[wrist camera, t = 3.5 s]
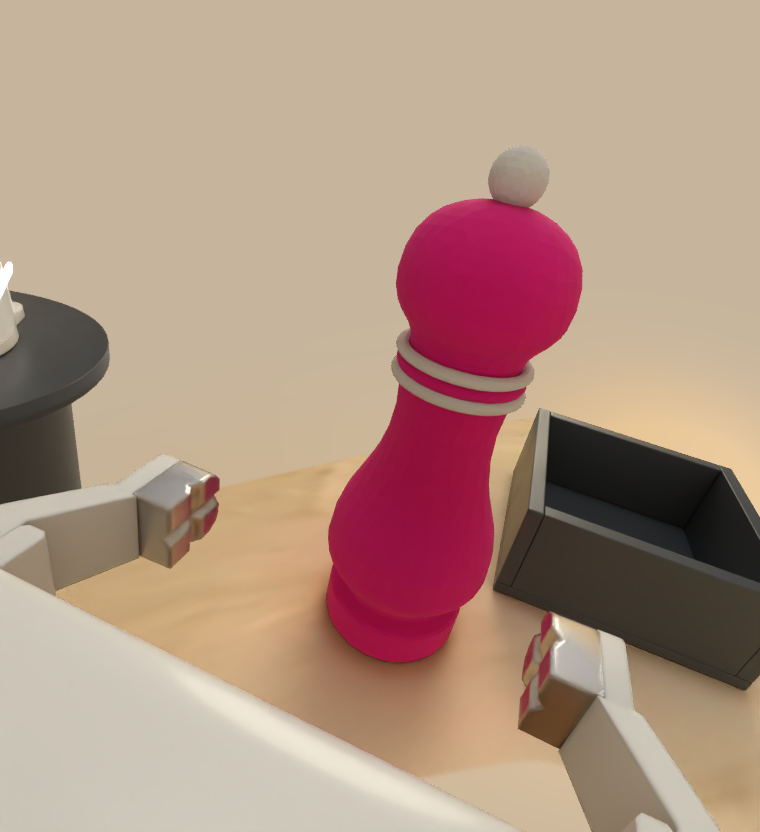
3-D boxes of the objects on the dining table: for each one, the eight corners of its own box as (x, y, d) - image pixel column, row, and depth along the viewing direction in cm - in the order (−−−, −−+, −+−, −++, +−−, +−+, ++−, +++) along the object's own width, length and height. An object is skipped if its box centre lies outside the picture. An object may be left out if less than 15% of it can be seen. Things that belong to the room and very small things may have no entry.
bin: (492, 589, 26) (528, 508, 24) (513, 471, 37) (539, 407, 34) (746, 691, 24) (817, 614, 21) (688, 533, 34) (731, 468, 32)
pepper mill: (433, 548, 28) (564, 161, 18) (485, 666, 22) (718, 184, 12) (307, 552, 26) (382, 117, 16) (327, 684, 20) (462, 118, 10)
